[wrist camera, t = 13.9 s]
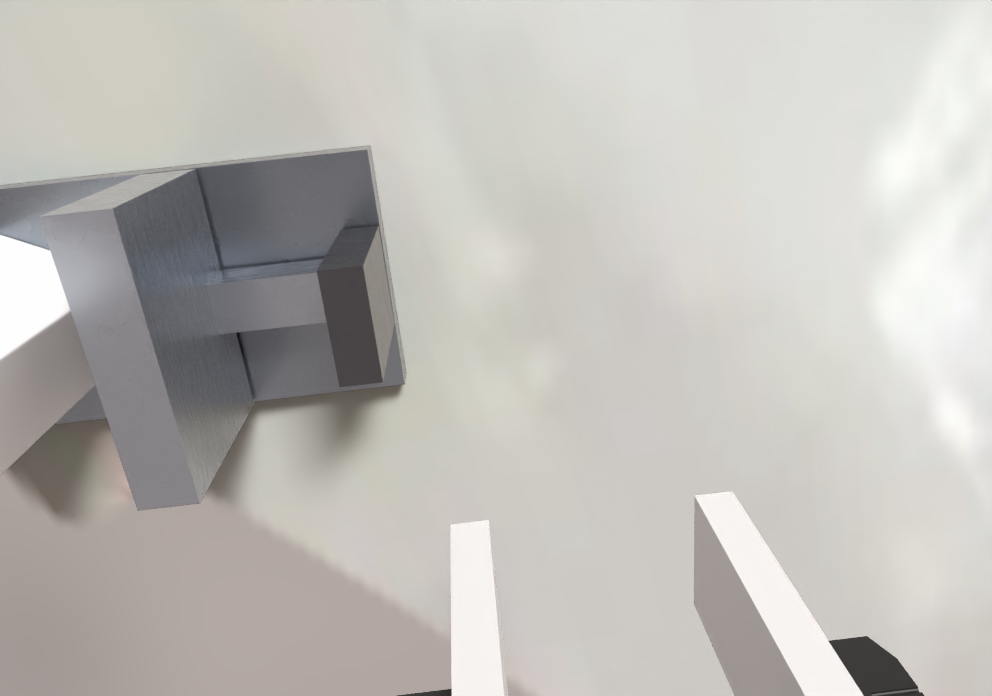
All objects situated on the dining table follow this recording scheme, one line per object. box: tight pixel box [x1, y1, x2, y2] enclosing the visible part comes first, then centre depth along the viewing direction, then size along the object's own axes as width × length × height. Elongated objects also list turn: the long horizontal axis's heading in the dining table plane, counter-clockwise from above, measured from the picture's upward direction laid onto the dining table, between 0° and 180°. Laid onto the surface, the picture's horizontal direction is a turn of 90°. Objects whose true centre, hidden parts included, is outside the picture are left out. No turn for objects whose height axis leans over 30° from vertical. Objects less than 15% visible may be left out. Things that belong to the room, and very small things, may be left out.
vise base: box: [0, 146, 406, 424], centre depth 33 cm, size 12×25×10 cm, turn 96°
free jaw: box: [39, 169, 394, 511], centre depth 32 cm, size 12×11×9 cm
